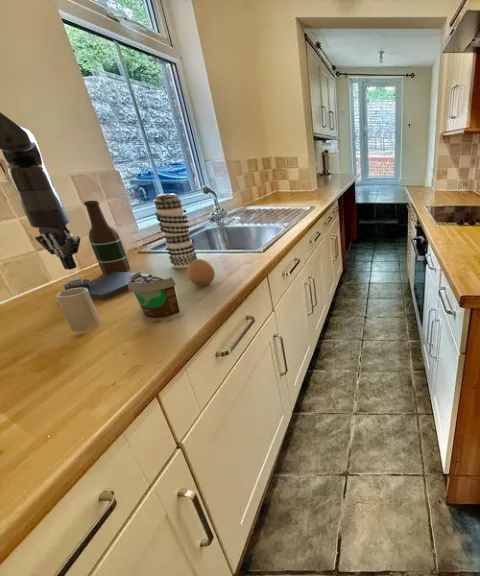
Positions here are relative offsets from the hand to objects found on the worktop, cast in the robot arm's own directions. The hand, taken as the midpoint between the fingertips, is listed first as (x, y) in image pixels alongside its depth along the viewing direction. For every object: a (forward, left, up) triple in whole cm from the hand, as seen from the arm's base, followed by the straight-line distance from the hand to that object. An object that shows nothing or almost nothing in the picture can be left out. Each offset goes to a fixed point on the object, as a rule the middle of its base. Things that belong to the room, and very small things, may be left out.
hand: (71, 268), depth 91 cm
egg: (+31, +12, -8) cm, 35 cm away
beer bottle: (-8, +17, -8) cm, 21 cm away
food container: (+32, -7, -8) cm, 34 cm away
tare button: (0, 0, -5) cm, 5 cm away
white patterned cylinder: (+10, +28, -8) cm, 31 cm away
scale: (+4, +5, -8) cm, 11 cm away
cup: (+20, -15, -8) cm, 26 cm away
